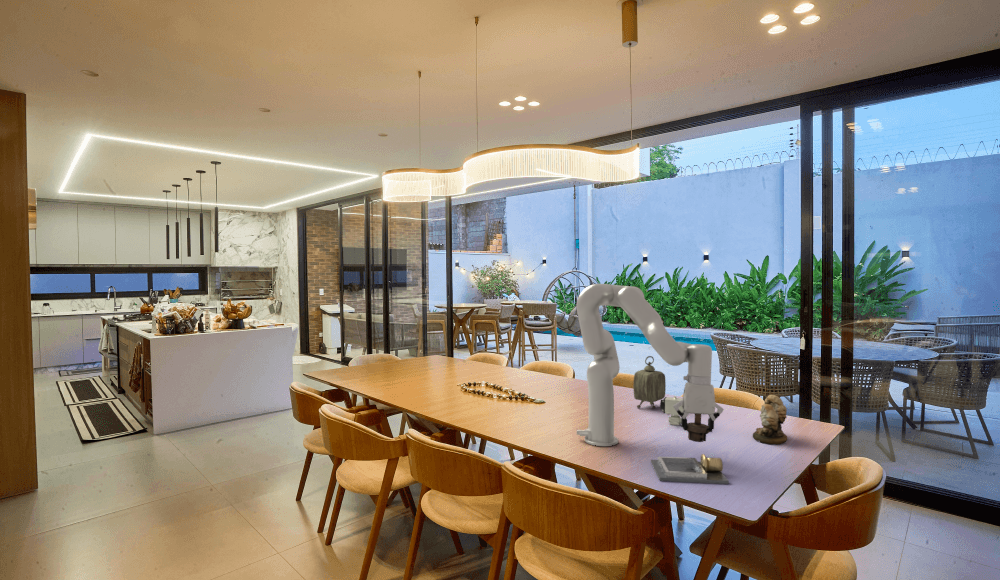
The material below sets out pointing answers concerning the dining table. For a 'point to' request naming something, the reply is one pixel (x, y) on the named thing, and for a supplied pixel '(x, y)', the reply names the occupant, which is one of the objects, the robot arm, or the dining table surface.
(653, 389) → the tabletop clock
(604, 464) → the dining table surface
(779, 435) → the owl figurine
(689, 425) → the industrial component
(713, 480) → the mounting plate
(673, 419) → the pneumatic valve
